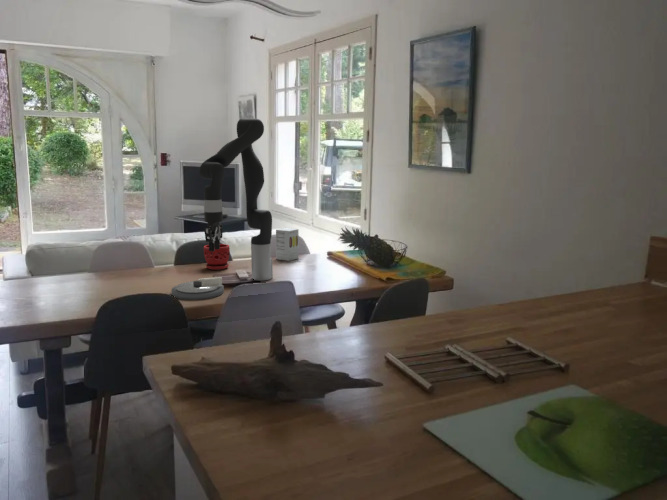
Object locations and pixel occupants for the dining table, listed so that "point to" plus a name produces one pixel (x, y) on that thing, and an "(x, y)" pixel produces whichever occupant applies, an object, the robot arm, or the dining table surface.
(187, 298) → the dial base
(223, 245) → the plant pot
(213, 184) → the robot arm
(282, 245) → the supplement box
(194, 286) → the dial
